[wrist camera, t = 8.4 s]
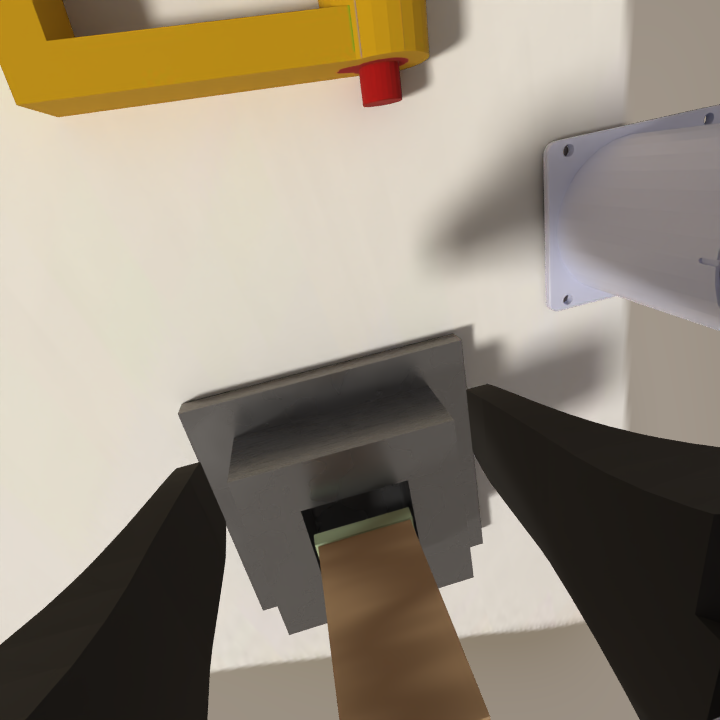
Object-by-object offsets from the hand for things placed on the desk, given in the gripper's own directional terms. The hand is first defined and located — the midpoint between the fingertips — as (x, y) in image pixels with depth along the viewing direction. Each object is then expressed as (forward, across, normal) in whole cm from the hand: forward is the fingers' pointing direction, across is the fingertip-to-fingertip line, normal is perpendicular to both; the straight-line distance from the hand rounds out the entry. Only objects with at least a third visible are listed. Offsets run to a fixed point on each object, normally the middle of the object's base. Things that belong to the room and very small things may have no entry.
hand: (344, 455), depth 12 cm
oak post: (+5, 0, +9) cm, 10 cm away
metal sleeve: (+10, 0, +9) cm, 14 cm away
